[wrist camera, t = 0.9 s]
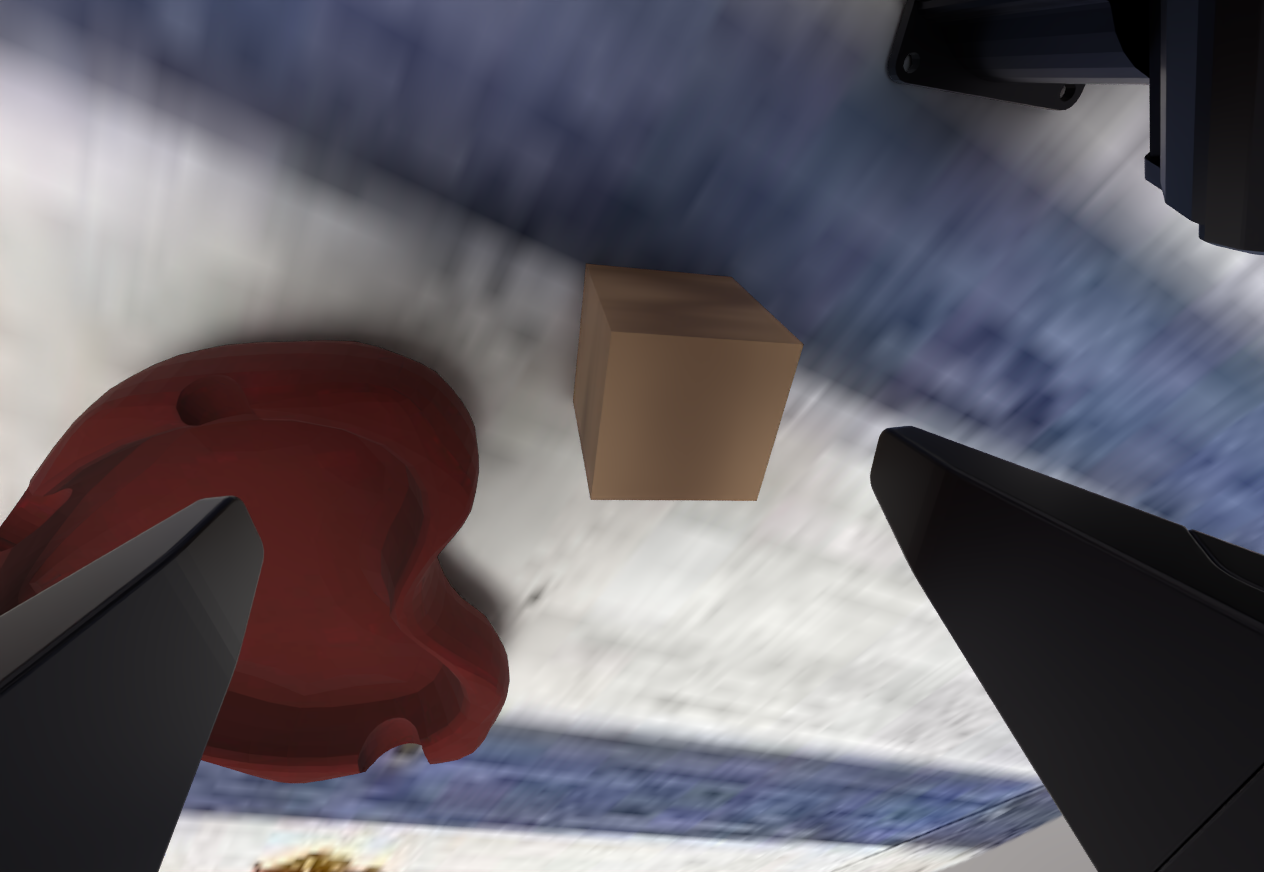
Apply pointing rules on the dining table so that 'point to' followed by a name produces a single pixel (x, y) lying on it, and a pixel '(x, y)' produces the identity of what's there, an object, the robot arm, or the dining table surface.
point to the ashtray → (294, 542)
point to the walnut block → (678, 385)
